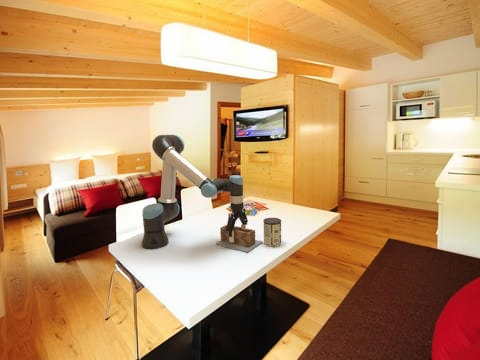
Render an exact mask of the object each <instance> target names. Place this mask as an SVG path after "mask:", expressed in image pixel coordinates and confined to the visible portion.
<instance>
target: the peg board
mask: <svg viewBox="0 0 480 360" xmlns="http://www.w3.org/2000/svg"><path fill="white" fill-rule="evenodd" d="M262 244H263V241H261V240H258V239H255V244H254V245H252V246H251V247H249V248H248V247H244V246H240V245H236V244H232V243H228V242H224V241H221V240H220V241H218V242H216V243H215V245H216V246H220V247H223V248H226V249H230V250H235V251H239V252H242V253H245V254H246V253H247V254H249V253H250V252H251V251H253V250H255V249H256V248H258V247H259V246H261V245H262Z"/></svg>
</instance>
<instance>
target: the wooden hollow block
mask: <svg viewBox="0 0 480 360" xmlns="http://www.w3.org/2000/svg"><path fill="white" fill-rule="evenodd" d="M226 228H227V224H226V225H224V226H222V227H220V230H219V231H220V232H219V233H220V241H224V242H228V243H232V244H236V245H240V246H244V247H248V248H249V247H251V246H252V245H254V244H255V240H256V230H255V229H252V228H247V227H246V228H242V227H240V226H236V225H234V228H233V231H234V242H229V231H226Z"/></svg>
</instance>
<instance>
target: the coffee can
mask: <svg viewBox="0 0 480 360" xmlns="http://www.w3.org/2000/svg"><path fill="white" fill-rule="evenodd" d="M262 223H263V245H265V246H267V247H271V248H273V247H279V246H281V244H282V219H280V218H278V217H266V218H263V222H262Z"/></svg>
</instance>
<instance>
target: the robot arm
mask: <svg viewBox="0 0 480 360" xmlns="http://www.w3.org/2000/svg"><path fill="white" fill-rule="evenodd" d="M151 148H152V150H153V153H154V154H155V155H156V157H158V158H159V159H160V160H162V171H161V185H160V187H161V188H160V197H159V198H158V199H157V203H151V204H148V205H146V206H144V207H143V208H142V216H141V217H142V222H143V223H142V224H143V237H142V240H141V246H142V248H144V249H147V250H152V249H153V250H155V249H161V248H163V247H166V246H168V245H169V237H168V235H167V233H166V229H165V223H167V222H169V221H170V220H173V219H174V218H176V217H177V216H178V215H179V213H180V205H179V204H178V203H179V202H178V200H177V198H176V184H177V172H179V173H180V174H181V175H182V176H184V177H185V178H186V179H187V180H189V181H190V183H192V184H193V185H194V186H196V187H197V188H198V190H200V193H201V195H202V197H204V198H208V199H209V198H213V197H214V196H216V195H218V194H220V193H222V192H223V193H229V202H230V204H229V205H230V210H231V213H230V212H229V213H228V218H227V222H226V223H227V224H226V225H227V228H226V231H229V242H234V231H233V228H234V226H236V222H237V221H238V219H239V220H240V223H241V225H240V226H241V227H242V228H247V225H248V222H249V221H248V216H247V213H246V208H244V180H243V179H244V178H243V175H238V174H236V175H229V178H218V177H217V178H211V179H210V177H208V176H207V175H205V174H204V173H203V172H202V171H201V170H199V169H198V168H197V167H196V166H195V165H193V164H192V163H191V162H190V161H188V160H187V159H186V158H185V157H184V156H182V154H181V153H183V151H184V150H185V142H184V140H183V139H182V137H181V136H179V135H177V134H159V135H157V136H155V137H154V138H153V140H152V142H151Z"/></svg>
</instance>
